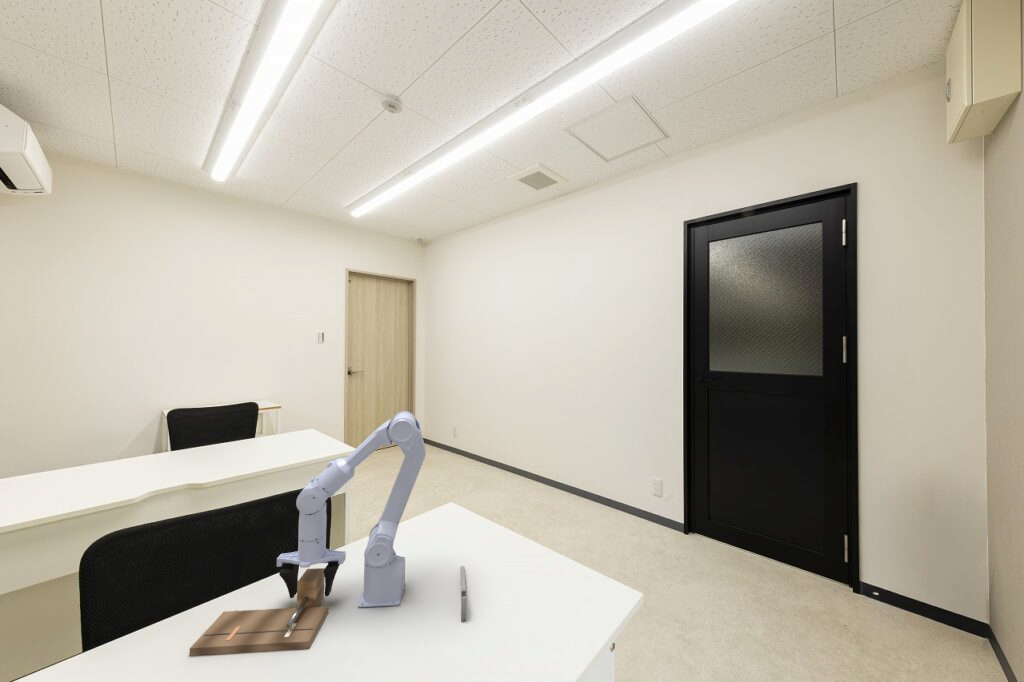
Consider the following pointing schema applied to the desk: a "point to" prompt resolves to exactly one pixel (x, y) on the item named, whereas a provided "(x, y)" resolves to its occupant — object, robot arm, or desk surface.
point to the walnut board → (260, 631)
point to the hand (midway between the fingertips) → (311, 594)
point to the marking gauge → (309, 591)
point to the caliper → (463, 595)
